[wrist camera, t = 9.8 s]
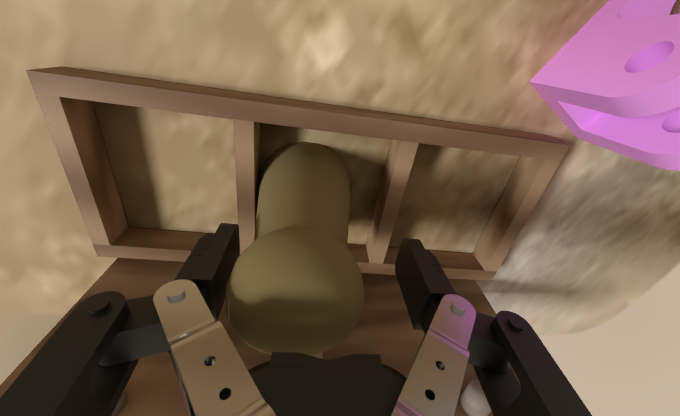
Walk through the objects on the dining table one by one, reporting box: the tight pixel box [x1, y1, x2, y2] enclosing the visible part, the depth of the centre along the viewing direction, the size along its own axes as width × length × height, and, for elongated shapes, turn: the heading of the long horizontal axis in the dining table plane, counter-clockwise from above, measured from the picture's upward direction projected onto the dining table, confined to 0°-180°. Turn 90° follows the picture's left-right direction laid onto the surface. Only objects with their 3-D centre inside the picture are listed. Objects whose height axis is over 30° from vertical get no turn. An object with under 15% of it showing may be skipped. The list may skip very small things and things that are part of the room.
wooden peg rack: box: [0, 67, 570, 416], centre depth 15 cm, size 14×28×12 cm, turn 82°
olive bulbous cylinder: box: [226, 142, 365, 356], centre depth 14 cm, size 6×6×11 cm
